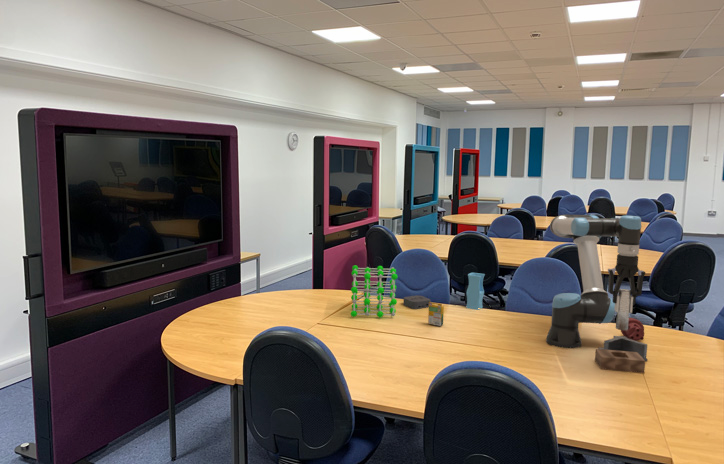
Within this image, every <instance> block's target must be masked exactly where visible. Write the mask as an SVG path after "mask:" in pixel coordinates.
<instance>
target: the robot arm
mask: <svg viewBox="0 0 724 464" xmlns="http://www.w3.org/2000/svg"><path fill="white" fill-rule="evenodd" d="M549 223H550V224H549V227H550V231H551V233H552V234H553V235H555V236H557V237H559V238H563V239H572V240H573V243H574V245H576V247H577V253H578V260H579V268H580V273H581V274H580V275H581V283H582V289H583V292H581V294H578V293H576V292H573V293H571V292H563V293H558V294H555V295H554V296H553V299H552V304H551V323H550V324H551V325H550V328H549V330H548V332H547V335H546V339H545V342H546V343H547V344H548V345H550V346H554V347H557V348H561V349H562V348H563V349H578V348H580V347H581V346H582V337H581V335H580V331H579V325H580V324H582V323H583V324H584V323H585V324H599V325H601V324H610V323H611V322H612V321H613V319H614V316H615V315H616V313H617V312H618V309H619V297H620V296H618V292H619V289H621V286H622V283H623V280H624V279H625V278H628V281H629V282H628V283H629V288H630V289H629V290H631V298H630V309H629V314H633V306H634V305H636V301H637V299H636V298H637V297H638V296H639V297H641V296H642V294H643V292H642V291H643V285H644V277H645V275H646V272H645V271H644V270H640V269H639V267H638V266H639V265H638V264H639V256H638V255H639V254H640V253H639V252H640V243H641V242H640V241H641V234H642V233H641V232H642V218H641V217H640V216H638V215H636V216H635V215H621V216H620V217H611V218H607V217H606V218H602V217H601V218H600V217H599V216H597V215H593V214H560V215H558V216H557V215H556V216H555V217H554V218H552V220H551V221H550V222H549ZM602 237H613V238H614V237H616V238H617V237H618V240H617V242H618V243H617V255H616V265H615V266H614V268H608V269H607V272H608V288H607V289H608V291H606V290H604V283H603V276H602V271H601V264H600V257H599V256H600V255H599V250H598V245H597V244H598V242H600V239H601V238H602ZM615 273H617V278H616V282H615V285H614V281H615V280H614V279H615ZM636 274H637V283H636V285H635V275H636ZM609 294H610V295H612V297H609Z"/></svg>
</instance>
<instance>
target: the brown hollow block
mask: <svg viewBox="0 0 724 464" xmlns="http://www.w3.org/2000/svg"><path fill="white" fill-rule="evenodd" d="M594 351H595V354H594V361H595V362H596V364H597V365H598V367H599V369H600V370H606V371H607V370H608V371H616V372H617V371H619V372H629V373H637V374H638V373H639V374H645V369H646V361H645V360H644V359H643V358H642V357H641V356H640V355H639V354H638V353H637V352H629V351H617V350H605V349H598V348H595V350H594Z"/></svg>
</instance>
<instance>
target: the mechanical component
mask: <svg viewBox="0 0 724 464" xmlns="http://www.w3.org/2000/svg"><path fill="white" fill-rule="evenodd" d="M620 332H621V334H622V335H623V336H625V337H627V338H628V339H631V340H634V341H638V342H639V341H643V340H644V338H645V337H644V336H645V325H644V324H643V323H642V322H641V321H640V320H639V319H636V318H633V317H629V321H628V330H620Z"/></svg>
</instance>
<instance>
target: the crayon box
mask: <svg viewBox="0 0 724 464" xmlns="http://www.w3.org/2000/svg"><path fill="white" fill-rule="evenodd" d="M444 312H445V311H444V305H442V303H438V302H432V301H430V302H429V307H428V312H427V313H428V316H427V317H428V319H427V323H428V325H434V326H439V327H442V326H443V325H444Z"/></svg>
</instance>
